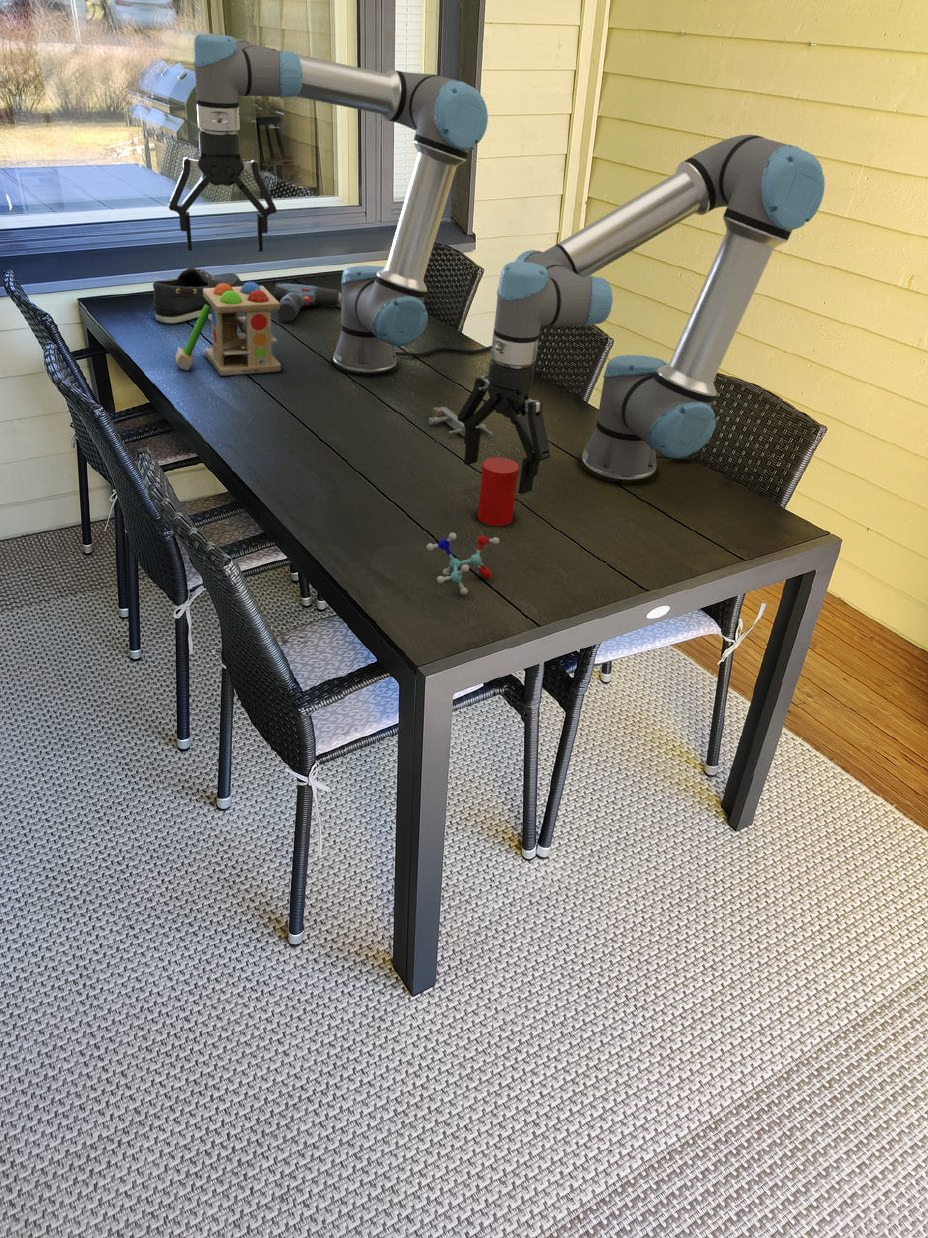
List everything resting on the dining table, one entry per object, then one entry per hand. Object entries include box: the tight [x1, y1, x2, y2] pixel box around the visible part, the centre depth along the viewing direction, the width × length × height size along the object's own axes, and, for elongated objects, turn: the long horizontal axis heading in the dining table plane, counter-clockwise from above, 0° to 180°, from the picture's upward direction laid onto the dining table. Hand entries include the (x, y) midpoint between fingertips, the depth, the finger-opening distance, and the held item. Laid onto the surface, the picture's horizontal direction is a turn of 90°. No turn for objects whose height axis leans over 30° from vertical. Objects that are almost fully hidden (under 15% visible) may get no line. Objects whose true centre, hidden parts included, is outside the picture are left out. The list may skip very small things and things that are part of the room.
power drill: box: [274, 282, 342, 322], centre depth 265 cm, size 5×19×20 cm
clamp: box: [428, 406, 495, 438], centre depth 210 cm, size 15×2×10 cm
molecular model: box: [426, 532, 500, 596], centre depth 158 cm, size 12×10×10 cm
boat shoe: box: [152, 267, 243, 324], centre depth 261 cm, size 13×33×10 cm, turn 147°
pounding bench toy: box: [174, 281, 282, 377], centre depth 225 cm, size 23×14×18 cm, turn 116°
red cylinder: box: [477, 457, 520, 527], centre depth 176 cm, size 6×6×10 cm
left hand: (225, 249), depth 194 cm, fingers open, 13 cm apart
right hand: (497, 477), depth 174 cm, fingers open, 13 cm apart
